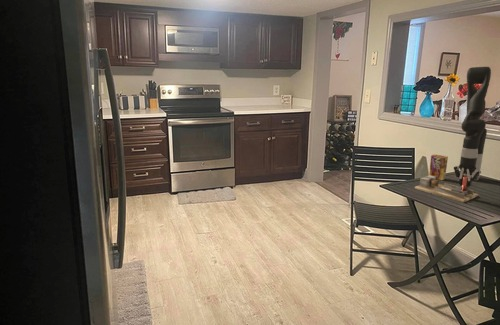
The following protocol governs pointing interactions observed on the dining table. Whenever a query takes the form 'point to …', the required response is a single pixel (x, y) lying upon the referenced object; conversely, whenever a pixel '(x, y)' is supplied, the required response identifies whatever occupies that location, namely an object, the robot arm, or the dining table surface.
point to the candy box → (438, 166)
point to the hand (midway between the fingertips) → (464, 186)
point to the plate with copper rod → (464, 187)
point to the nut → (434, 183)
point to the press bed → (444, 190)
